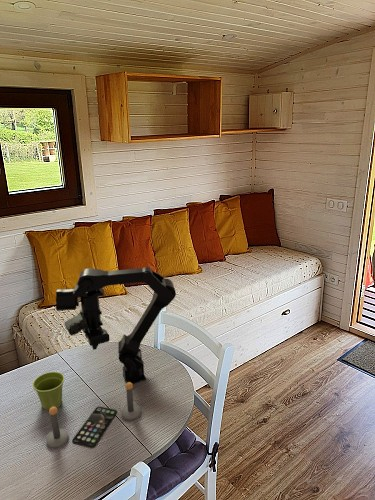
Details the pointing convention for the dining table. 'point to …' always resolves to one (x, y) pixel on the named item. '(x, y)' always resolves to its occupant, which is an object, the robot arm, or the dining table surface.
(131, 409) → the stand inner
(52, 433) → the stand
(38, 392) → the plant pot
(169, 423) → the dining table surface
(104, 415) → the smartphone
